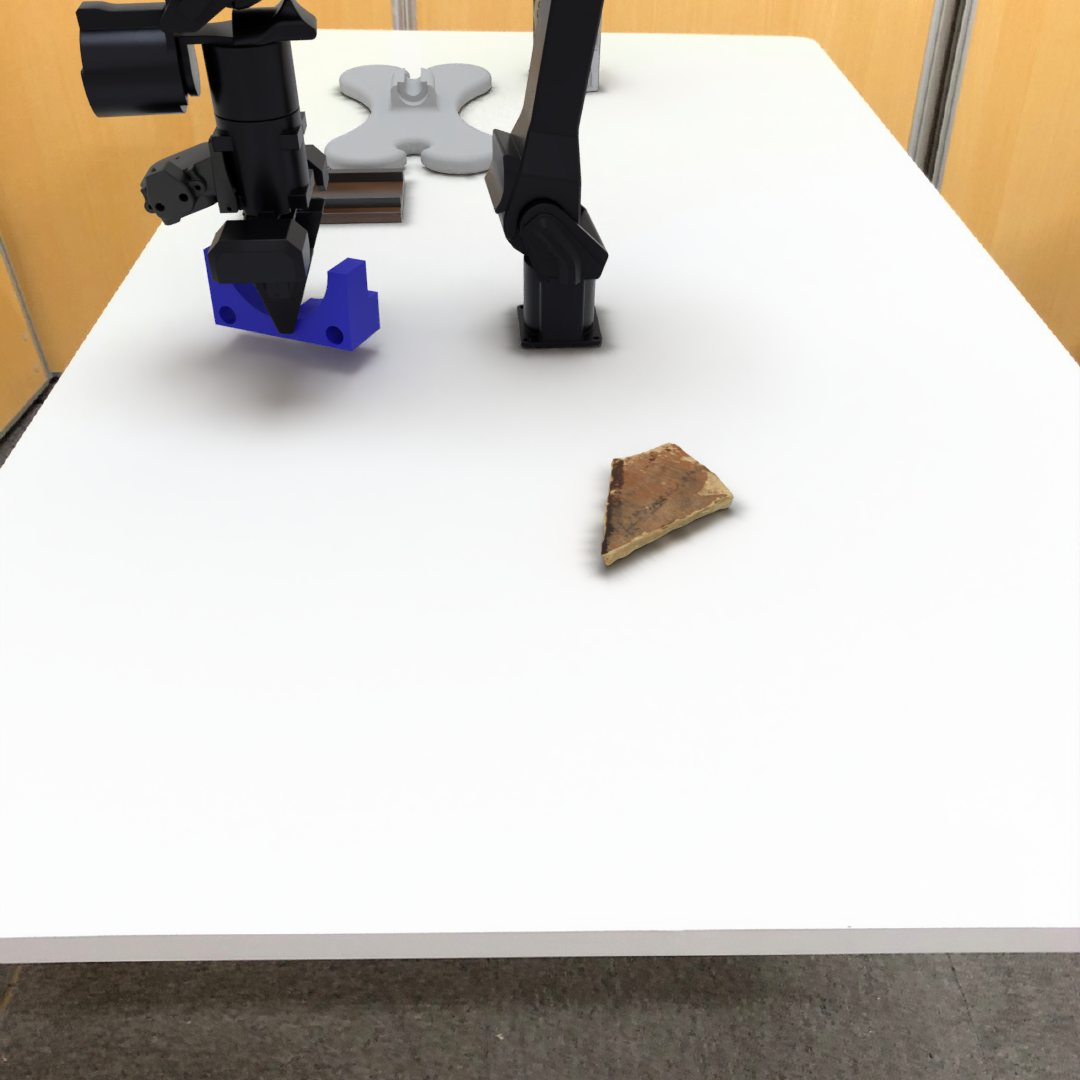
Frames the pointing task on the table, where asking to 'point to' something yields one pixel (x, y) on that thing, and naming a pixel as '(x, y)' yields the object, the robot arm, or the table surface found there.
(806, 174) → the table surface
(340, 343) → the blue cradle block
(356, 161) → the holder
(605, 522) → the shard
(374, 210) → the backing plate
